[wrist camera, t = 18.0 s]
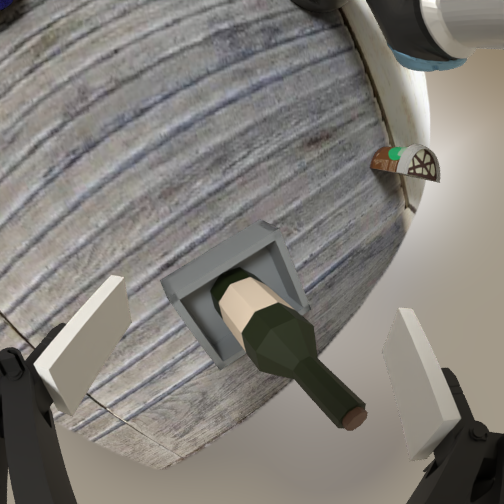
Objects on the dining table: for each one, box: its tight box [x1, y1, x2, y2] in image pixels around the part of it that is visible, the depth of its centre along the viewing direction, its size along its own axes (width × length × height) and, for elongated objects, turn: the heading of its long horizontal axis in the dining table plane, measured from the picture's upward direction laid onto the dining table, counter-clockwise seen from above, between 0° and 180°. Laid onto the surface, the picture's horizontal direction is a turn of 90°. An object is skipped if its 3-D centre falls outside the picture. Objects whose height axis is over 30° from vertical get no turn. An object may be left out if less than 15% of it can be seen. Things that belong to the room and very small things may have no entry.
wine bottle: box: [210, 267, 367, 431], centre depth 38 cm, size 8×8×30 cm
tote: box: [160, 219, 311, 370], centre depth 49 cm, size 18×16×6 cm
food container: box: [370, 144, 440, 183], centre depth 53 cm, size 12×6×10 cm, turn 84°
